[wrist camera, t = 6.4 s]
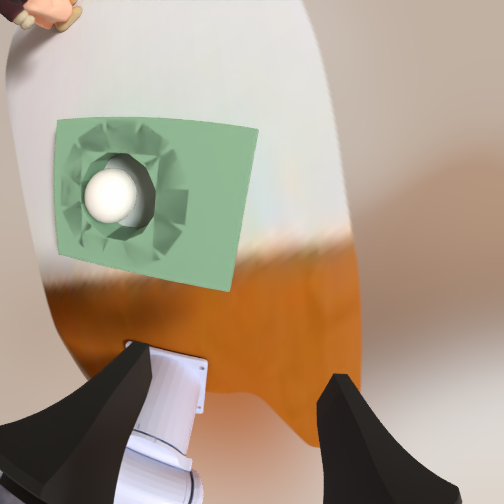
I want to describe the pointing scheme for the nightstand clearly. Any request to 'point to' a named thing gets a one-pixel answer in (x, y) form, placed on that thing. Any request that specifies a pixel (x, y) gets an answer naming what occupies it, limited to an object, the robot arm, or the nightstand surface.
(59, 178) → the green
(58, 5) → the grandmother figurine
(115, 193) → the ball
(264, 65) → the nightstand surface
